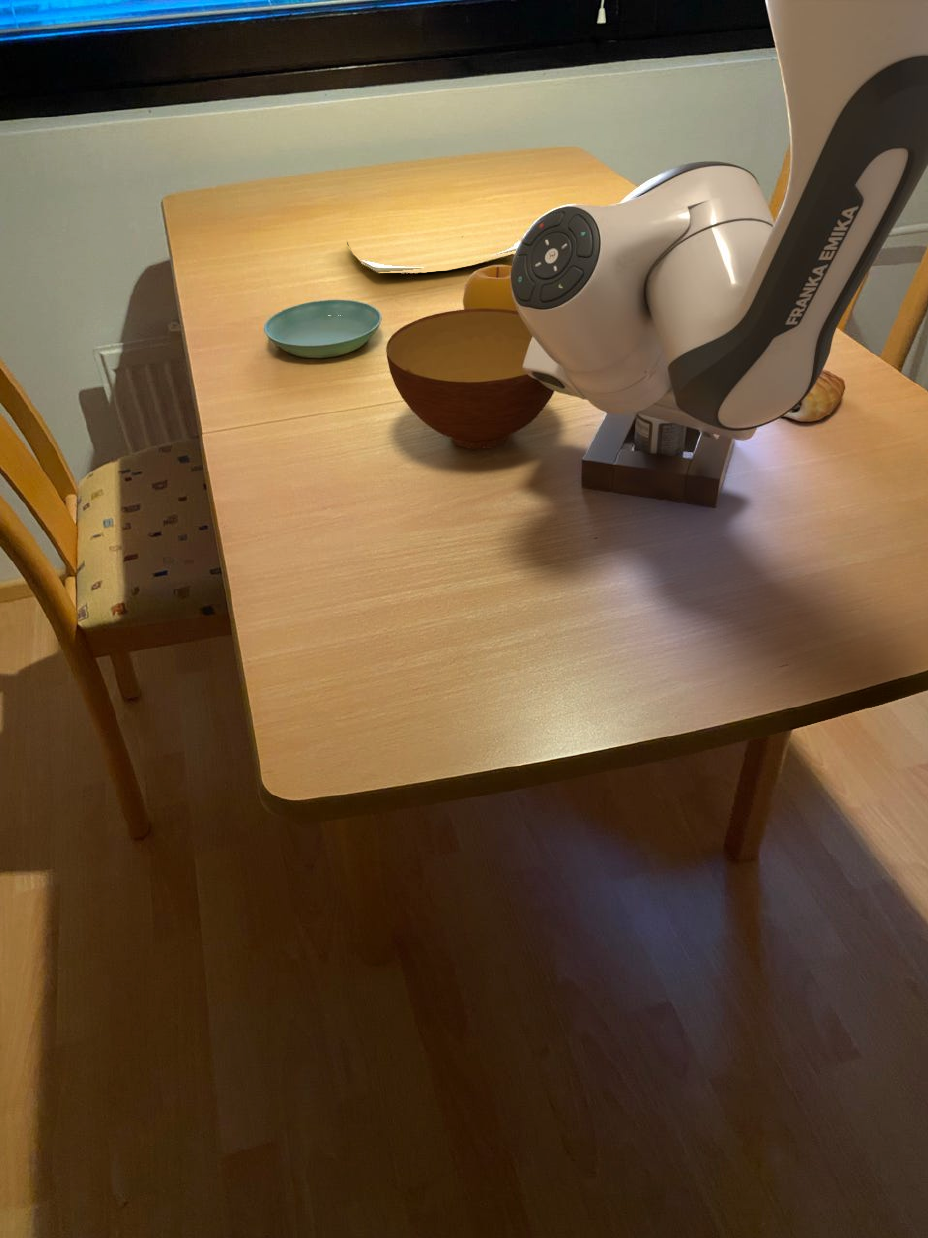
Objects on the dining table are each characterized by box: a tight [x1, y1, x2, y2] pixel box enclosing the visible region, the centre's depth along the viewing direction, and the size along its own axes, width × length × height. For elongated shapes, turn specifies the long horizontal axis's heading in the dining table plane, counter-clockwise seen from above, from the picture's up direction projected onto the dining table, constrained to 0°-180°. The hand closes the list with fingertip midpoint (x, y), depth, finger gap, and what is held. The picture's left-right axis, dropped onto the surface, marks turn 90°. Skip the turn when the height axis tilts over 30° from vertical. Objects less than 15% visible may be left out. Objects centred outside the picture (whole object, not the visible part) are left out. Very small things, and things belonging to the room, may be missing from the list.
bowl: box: [385, 309, 555, 450], centre depth 94 cm, size 18×18×10 cm
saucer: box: [263, 299, 383, 359], centre depth 117 cm, size 15×15×3 cm
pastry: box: [781, 369, 846, 423], centre depth 98 cm, size 9×7×4 cm
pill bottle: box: [633, 413, 686, 457], centre depth 88 cm, size 5×5×8 cm
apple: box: [462, 264, 517, 311], centre depth 113 cm, size 9×8×9 cm
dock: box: [580, 412, 736, 508], centre depth 90 cm, size 13×13×3 cm
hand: (667, 417), depth 87 cm, fingers open, 8 cm apart
